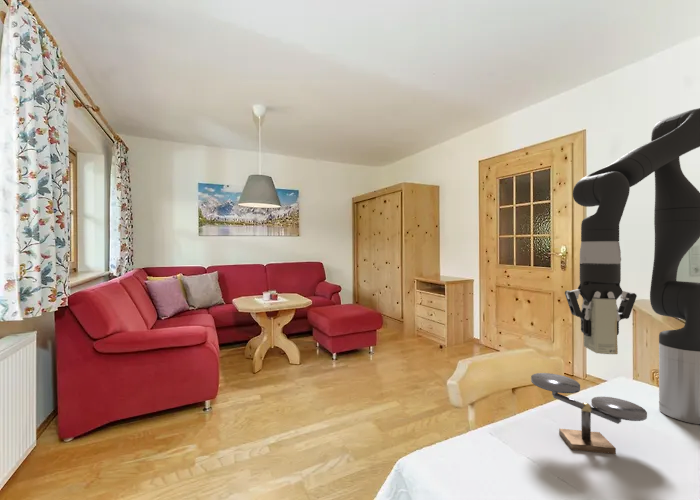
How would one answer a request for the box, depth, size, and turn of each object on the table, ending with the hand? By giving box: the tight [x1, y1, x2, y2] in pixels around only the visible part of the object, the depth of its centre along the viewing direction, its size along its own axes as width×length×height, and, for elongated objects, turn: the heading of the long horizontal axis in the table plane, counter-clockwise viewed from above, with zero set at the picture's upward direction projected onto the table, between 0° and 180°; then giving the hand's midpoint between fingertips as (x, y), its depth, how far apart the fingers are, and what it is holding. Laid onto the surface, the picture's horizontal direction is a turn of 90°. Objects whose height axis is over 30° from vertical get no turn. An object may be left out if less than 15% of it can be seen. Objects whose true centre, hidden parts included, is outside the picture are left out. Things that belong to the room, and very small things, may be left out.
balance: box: [530, 372, 648, 455], centre depth 70 cm, size 21×9×13 cm, turn 79°
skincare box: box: [582, 298, 619, 355], centre depth 76 cm, size 6×4×12 cm
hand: (599, 335), depth 76 cm, fingers closed on skincare box, 4 cm apart
